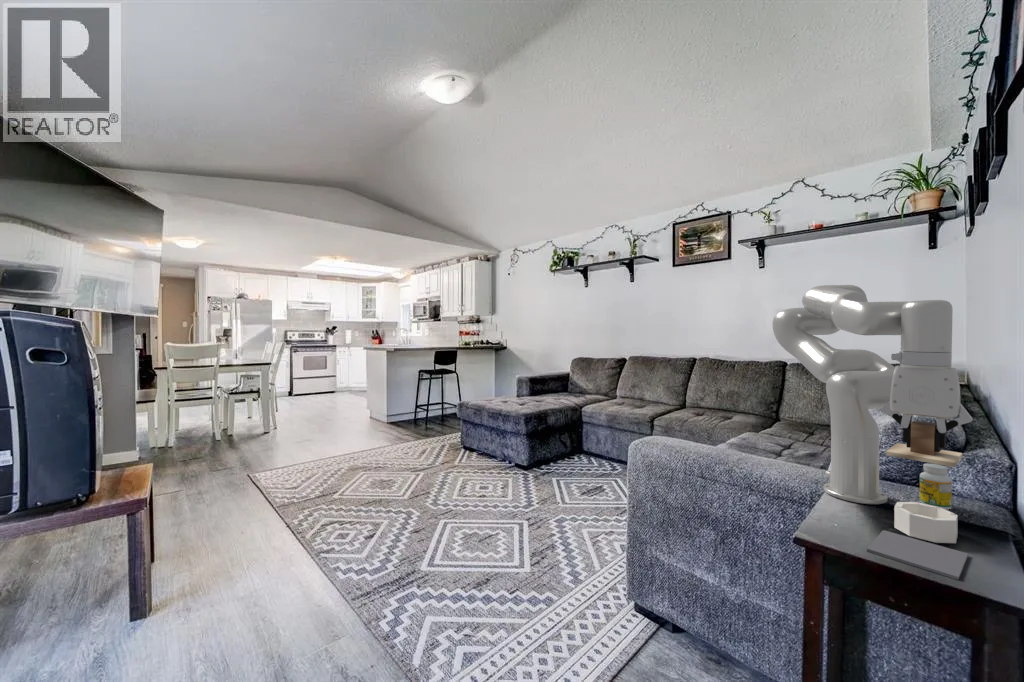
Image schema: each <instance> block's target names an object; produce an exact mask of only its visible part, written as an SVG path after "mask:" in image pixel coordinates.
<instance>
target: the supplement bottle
mask: <svg viewBox="0 0 1024 682" xmlns="http://www.w3.org/2000/svg"><path fill="white" fill-rule="evenodd" d="M922 469H923V471H922V472H920V473H919V503H920V502H921V503H922V504H927V505H931V506H936V507H940V508H943V509H945V510H947V511H950V510H951V509H952V506H953V501H952V499H953V497H952V496H953V493H952V491H953V489H952V485H953V484H952V482H953V481H952V478H951V477H950V476H949V475H948V466H945V465H939V464H934V463H928V462H925V463H923V467H922ZM949 509H950V510H949Z"/></svg>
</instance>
